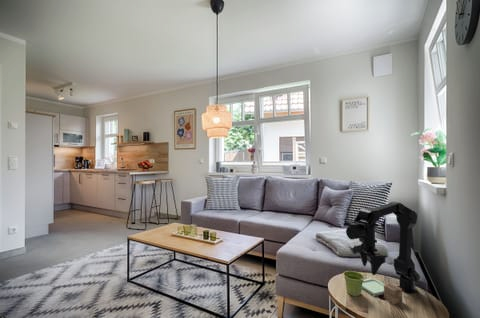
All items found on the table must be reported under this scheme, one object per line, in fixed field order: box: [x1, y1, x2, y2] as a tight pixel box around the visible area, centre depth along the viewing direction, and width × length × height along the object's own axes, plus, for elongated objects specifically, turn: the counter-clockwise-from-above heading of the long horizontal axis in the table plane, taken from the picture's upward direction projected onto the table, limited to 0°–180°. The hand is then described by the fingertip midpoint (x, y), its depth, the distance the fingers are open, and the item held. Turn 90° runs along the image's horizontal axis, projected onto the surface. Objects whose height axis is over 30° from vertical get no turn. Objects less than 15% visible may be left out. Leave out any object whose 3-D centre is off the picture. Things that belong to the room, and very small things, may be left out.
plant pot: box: [342, 270, 365, 297], centre depth 118 cm, size 9×9×9 cm
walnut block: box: [383, 283, 403, 305], centre depth 112 cm, size 5×5×6 cm
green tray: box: [362, 277, 386, 297], centre depth 122 cm, size 12×12×2 cm
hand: (368, 270), depth 113 cm, fingers open, 9 cm apart
